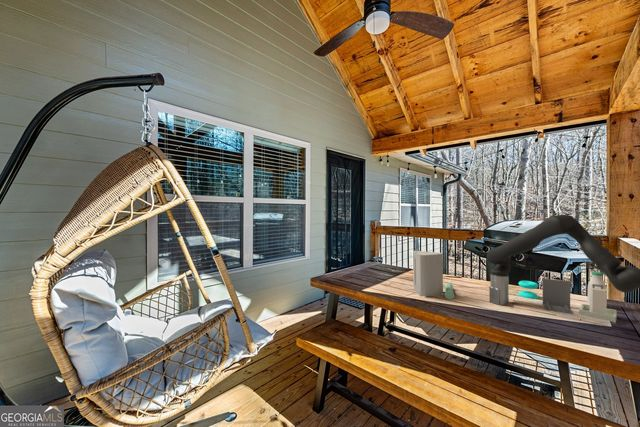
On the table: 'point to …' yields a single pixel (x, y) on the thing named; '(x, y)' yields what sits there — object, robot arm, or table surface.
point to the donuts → (528, 286)
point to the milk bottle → (596, 280)
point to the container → (449, 291)
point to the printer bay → (556, 295)
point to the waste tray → (609, 316)
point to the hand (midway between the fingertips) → (604, 264)
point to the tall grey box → (428, 273)
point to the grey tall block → (597, 299)
